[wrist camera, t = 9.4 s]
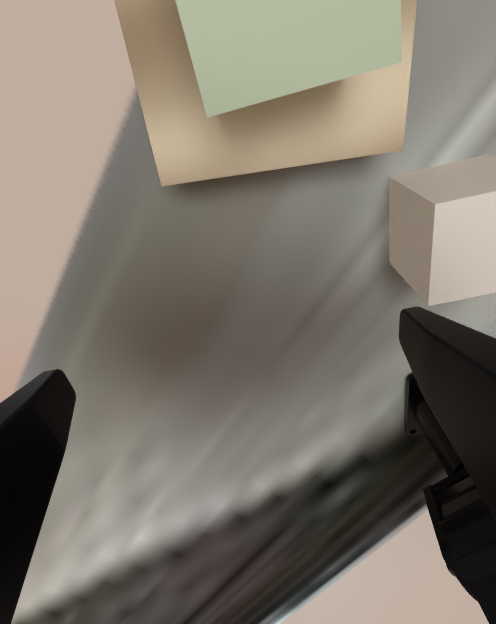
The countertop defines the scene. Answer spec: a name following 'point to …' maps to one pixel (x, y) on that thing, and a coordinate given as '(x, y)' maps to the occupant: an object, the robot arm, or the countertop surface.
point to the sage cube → (284, 45)
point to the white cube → (445, 229)
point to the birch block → (256, 107)
